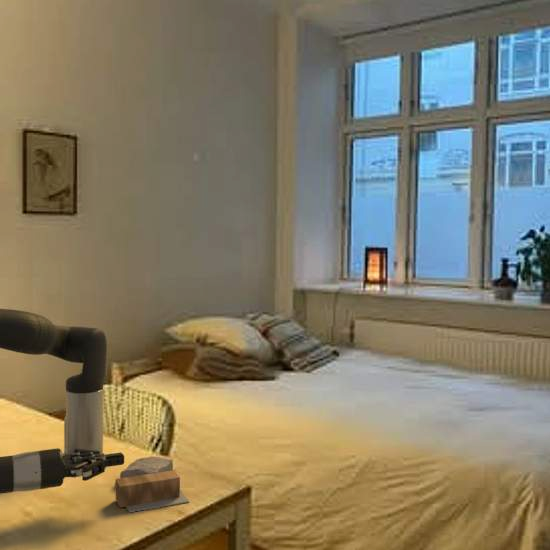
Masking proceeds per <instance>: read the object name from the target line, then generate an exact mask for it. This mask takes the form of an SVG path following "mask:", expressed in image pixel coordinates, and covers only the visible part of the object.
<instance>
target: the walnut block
mask: <svg viewBox="0 0 550 550" xmlns="http://www.w3.org/2000/svg"><path fill="white" fill-rule="evenodd" d="M180 484H181V479H180V476H179V475H178V473H177V472H176V471H175V470H172V471H165V472H159V473H152V474H145V475H139V476H132V477H126V478H120V477H119V478H115V501H116V503H117V505H118V506H119V508H126V506H132V505H138V504H144V503H150V502H155V501H161V500H167V499H173V498H179V497H180V491H181V487H180V486H181V485H180Z"/></svg>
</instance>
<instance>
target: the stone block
mask: <svg viewBox="0 0 550 550" xmlns="http://www.w3.org/2000/svg"><path fill="white" fill-rule="evenodd" d="M173 463H174V461H173V458H166V457H161V456H153V455H152V456H148V457H142V458H138V459H135V460H134V461H133V462H131V463H129V465H127V466H126V468H125V469H123V470H122V471H121V472H120V473H119V474H120V476H119V478H126V477H132V476H139V475H145V474H152V473H159V472H165V471H172V470H173V469H174V464H173Z"/></svg>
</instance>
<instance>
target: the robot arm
mask: <svg viewBox="0 0 550 550" xmlns="http://www.w3.org/2000/svg"><path fill="white" fill-rule="evenodd" d="M107 345H108V343H107V337H106V334H105V331H103V330H102V329H100V328H97V327H87V326H66V325H65V326H64V325H63V326H62V325H55V324H54V323H53V322H52V321H51V320H50V319H49V318H47V317H46V316H43V315H41V314H37V313H33V312H29V311H25V310H19V309H18V310H17V309H11V308H10V309H9V308H0V349H3V350H7V351H10V352H11V351H12V352H15V353H20V354H26V355H34V356H39V355H49V356H53V357H56V358H58V359H60V360H64V361H66V362H69V363H75V364H76V363H77V364H82V369H81V373H79V374H76V375H72V376H70V377H68V378H66V381H65V417H64V418H63V420H64V421H63V423H64V425H63V427H64V432H63V433H64V436H63V438H64V439H63V442H64V444H63V445H64V447H63V448H64V449H63V450H64V454H65V455H63V452H62V449H61V448H59V447H57V448H50V449H42V450H34V451H26V452H22V453H17V454H12V455H5V456H0V495H3V494H9V493H15V492H17V493H18V492H30V491H31V492H32V491H39V490H43V489H52V488H56V487H58V488H59V487H61V486H62V485H63V484H64V479H65V478H73V479H74V478H81V477H82V481H84V482H85V481H88V480H91V479H92V478H95V477H97V476H99V475H100V474H101V475H102V474H103V473H104V472H106V469H107V468H109V467H116V466H122V465H124V464H125V455H124V453H123V452H113V453H104V448H103V447H104V381H105V377H106V372H107V371H106V370H107V369H106V368H107V367H106V364H107V349H108V348H107V347H108V346H107Z"/></svg>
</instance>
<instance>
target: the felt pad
mask: <svg viewBox="0 0 550 550" xmlns="http://www.w3.org/2000/svg"><path fill="white" fill-rule="evenodd" d="M183 503H184V504H188V503H190V500H189V499H188V497H187V496H186V495H185V494H184V493H183V492H182V491H181V490H180V497H179V498H173V499H167V500H161V501H155V502H150V503H144V504H138V505H132V506H126V507H125V508H126V510H127V511H129V512H128V513H129V514H131V513H130V512H133V513H136V512H135V511H138V512H142V511H141V510H144V511H148V510H147V509H150V510H154V508H155V509H161V508H165V507H164V506H167V507H171V505H172V506H177V504H178V505H183ZM160 507H161V508H160Z"/></svg>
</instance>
